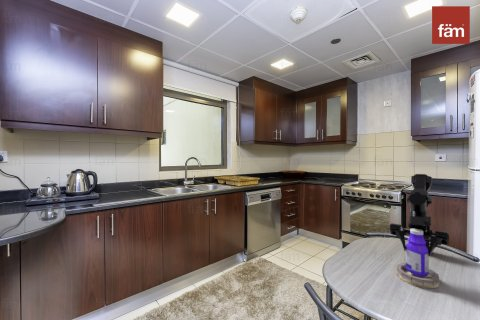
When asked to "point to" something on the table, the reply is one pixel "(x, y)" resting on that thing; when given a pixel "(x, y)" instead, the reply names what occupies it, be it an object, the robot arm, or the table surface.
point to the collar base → (418, 278)
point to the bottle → (417, 254)
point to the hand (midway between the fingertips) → (416, 252)
